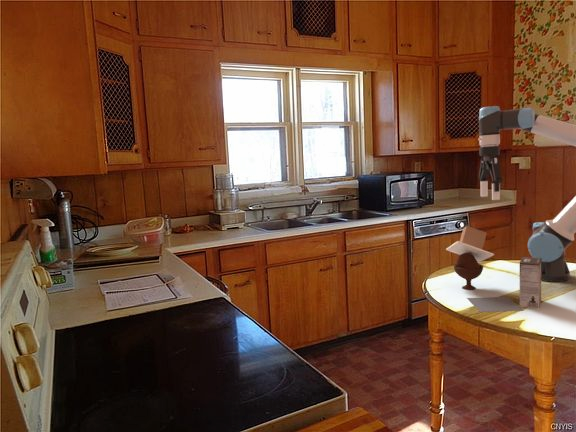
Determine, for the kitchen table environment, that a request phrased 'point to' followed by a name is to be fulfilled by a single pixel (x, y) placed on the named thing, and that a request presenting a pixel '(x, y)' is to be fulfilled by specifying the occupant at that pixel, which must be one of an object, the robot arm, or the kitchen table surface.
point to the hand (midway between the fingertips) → (489, 198)
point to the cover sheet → (470, 250)
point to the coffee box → (530, 282)
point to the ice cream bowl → (468, 269)
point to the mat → (494, 304)
